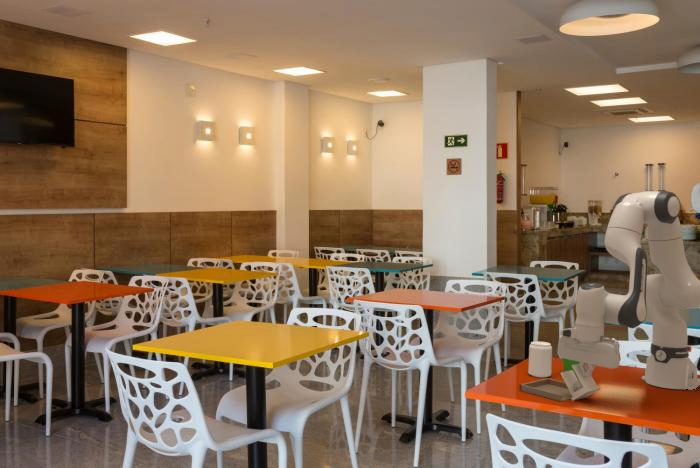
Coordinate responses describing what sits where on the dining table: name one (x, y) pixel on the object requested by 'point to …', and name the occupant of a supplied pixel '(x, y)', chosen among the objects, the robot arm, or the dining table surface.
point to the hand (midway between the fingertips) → (586, 376)
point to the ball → (577, 385)
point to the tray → (547, 389)
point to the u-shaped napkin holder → (587, 383)
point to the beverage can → (540, 359)
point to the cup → (569, 365)
